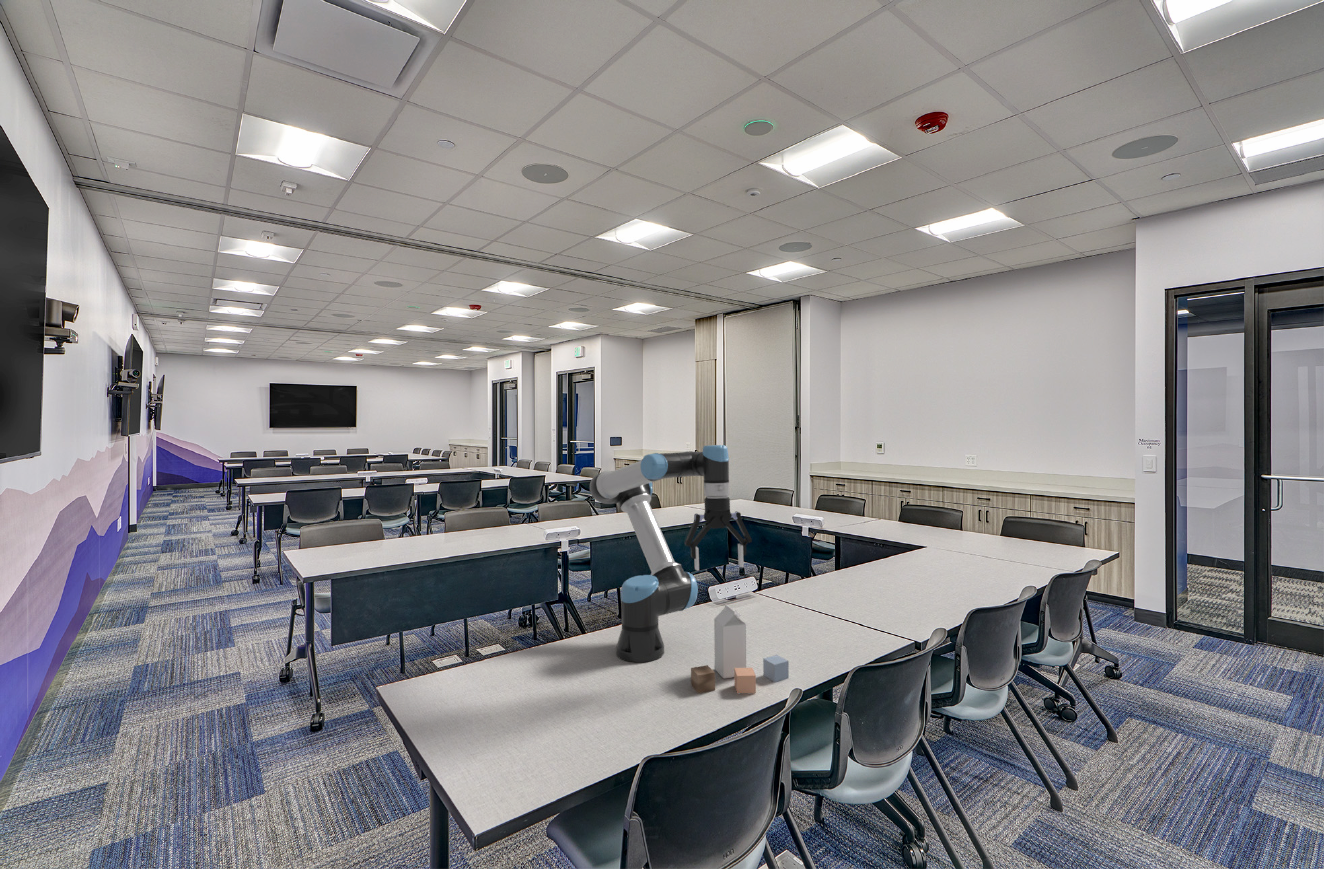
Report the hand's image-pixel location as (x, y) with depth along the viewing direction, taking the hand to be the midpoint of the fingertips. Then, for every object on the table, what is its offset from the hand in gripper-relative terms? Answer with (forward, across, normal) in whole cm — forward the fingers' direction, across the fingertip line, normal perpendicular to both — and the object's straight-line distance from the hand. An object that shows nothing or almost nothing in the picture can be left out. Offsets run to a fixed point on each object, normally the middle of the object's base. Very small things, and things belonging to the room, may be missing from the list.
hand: (719, 568), depth 172 cm
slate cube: (+30, +13, -10) cm, 34 cm away
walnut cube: (+30, -9, -12) cm, 33 cm away
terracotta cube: (+30, +2, -15) cm, 34 cm away
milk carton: (+30, +1, -4) cm, 30 cm away
